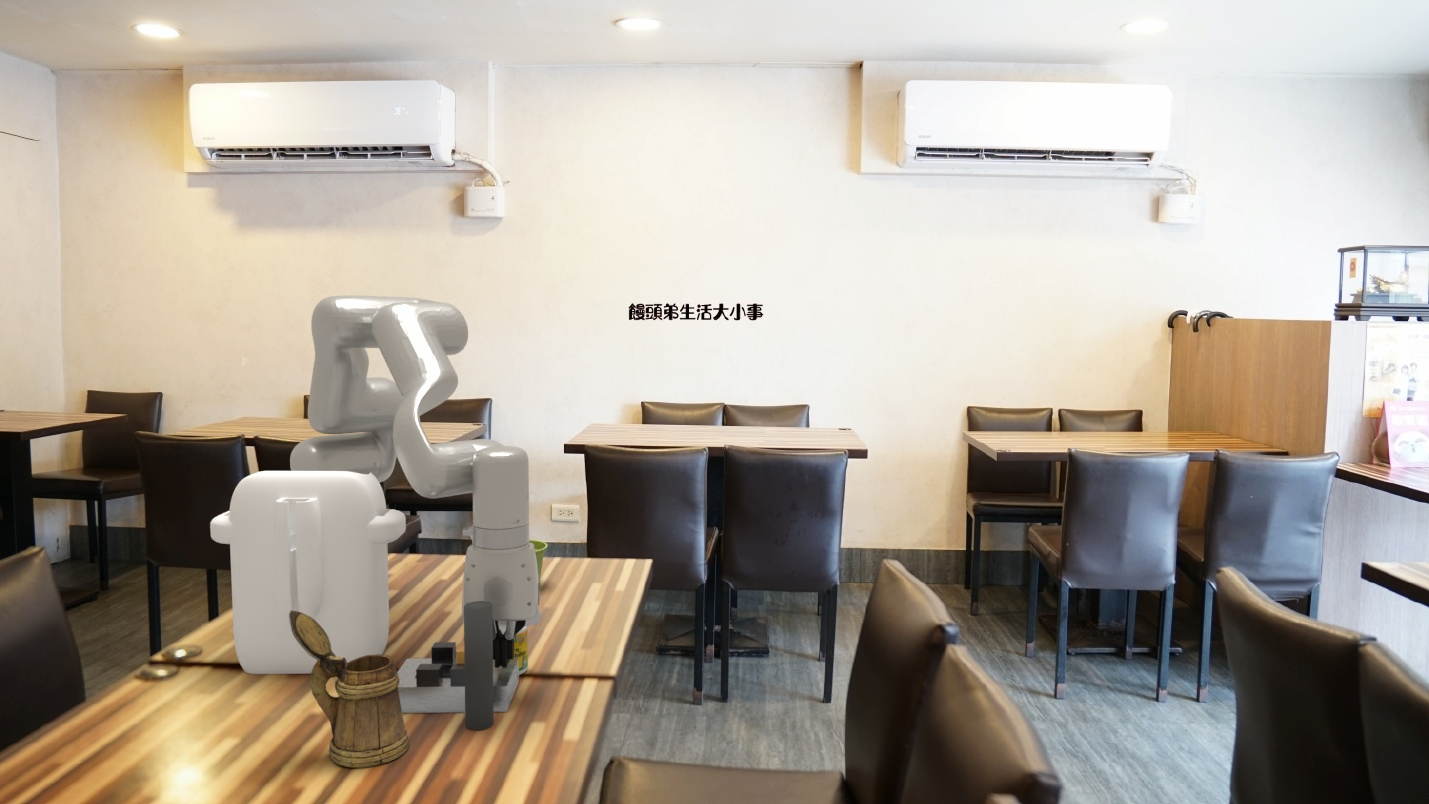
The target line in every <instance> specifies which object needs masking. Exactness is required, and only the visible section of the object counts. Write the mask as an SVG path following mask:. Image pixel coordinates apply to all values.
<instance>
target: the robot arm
mask: <svg viewBox="0 0 1429 804" xmlns="http://www.w3.org/2000/svg"><path fill="white" fill-rule="evenodd" d="M310 325H311V336H312V341H313V347H314V361H313V362H314V363H313V368H312V373H311V381H310V382H311V383H310V389H309V396H308V404H307V418H308V419H307V420H308V423H309V425H310V427H311V428H312V429H313V430H314V431H315V432H317V433H320V434H325V435H323V436H320V435H319V436H314V437H311V438H307V439H304V440H302V441H301V442H299V443H297V444H296V445H295V446H294V448H292V450H291V453H290V457H289V462H290V463H289V465H290V466H289V467H290V471H350V472H355V473H360V474H370V472H371V473H372V474H373V475H374V476H375V477H376V479H377V480H378V481H379V483H382V482H385V481H386V480H387V479H389V477H391V475H392V473H393V472H394V469H395V466H396V460H398V463H399V464H400V467H401V469H402V471H403V473H404V474H403V475H404V476H405V477H406V480H407V481H408V483H409V484H410V486H411V488H412V489H413V490H414V492H416V493H417V494H418V495H419V496H421V497H424V498H427V499H440V498H445V497H453V496H459V495H464V494H465V495H466V494H472V525H471V526H469V527H463V528H462V539H463V538H464V539H465V538H468V539H470V540H471V541H472V542H471V543H472V544H470V545H469V546H467V549H466V554H465V559H464V567H463V578H462V594H461V595H462V597H461V598H462V599H461V600H462V601H461V609H462V610H461V611H462V612H461V613H462V621H461V622H462V623H463V624H464V605H465V604H467V603H470V602H476V601H486V602H490V603H492V616H493V660H495V668H499V667H503V668H507V666H508V663H509V661H510V659H513V658H514V636H515V635H516V634H517V633H518V632H519V631H520V630H521V629H522V628H523V627H525V626H527V627H529V626H533V625H539V623H540V622H541V620H542V614H541V611H540V606H539V605H540V595H541V594H540V592H541V591H540V585H539V577H538V566H537V559H536V553H535V549H534V545H533V543H530V542H529V540H530V495H529V494H530V491H529V490H530V483H529V482H530V480H529V479H530V477H529V476H530V475H529V471H530V470H529V463H530V462H529V456H528V453H527V452H526V451H525V450H524V449H523V448H520V447H516V446H507V445H504V444H502V443H500V442H499V441H497V440H493V439H490V438H479V439H469V440H458V441H456V440H455V441H446V442H439V443H431V442H430V440H429V438H428V436H427V435H426V433H425V430H424V428H423V426H422V423H421V417H420V416H422V415H424V414H425V413H427V412H429V411H431V410H433V409H434V408H436V407H439V406H440V405H442V404H443V403H444V402H446V401H447V400H448V399H449V398H450V397H451V396H452V395H453V394H454V393H455V392H456V390H457V387H458V385H459V377H458V374H457V372H456V370H455V368H454V366H453V365H452V363H451V361H450V359H449V357H448V356H452V355H457V354H460V353H461V352H462V351H463V350H464V348H465V347H466V345H467V343H468V339H469V329H468V324H467V321H466V318H465V316H464V314H463V313H462V312H461V310H459V309H458V308H457V307H456V306H455V305H453V304H451V303H449V302H443V301H442V302H441V301H435V300H432V299H425V298H419V297H418V298H417V297H405V296H378V295H375V296H374V295H333V296H327V297H324V298H323V299H321V300H320V301H319V302H318V303H317V304H316V305H315V307H314V309H313V312H312V315H311V323H310ZM366 349H379V352H380V353H381V355H382V357H383V360H384V362H385V363H386V366H387V368H388V370H389V372H390V374H391V376H392V378H393V380H394V381H393V380H392V379H390V378H386V377H378V376H377V377H368V372H369V367H370V366H369V365H370V359H369V355H368V351H367V350H366ZM499 621H507V625H506V631H505V632H504V635H503V634H502V633H501V630H500V627H499Z"/></svg>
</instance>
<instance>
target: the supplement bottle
mask: <svg viewBox="0 0 1429 804" xmlns="http://www.w3.org/2000/svg"><path fill="white" fill-rule="evenodd" d="M506 625H507V621H499V627H500V630H501V633H502V634H503V635H504V632H505V631H506ZM528 655H529V654H528V626H525V627H523V628H522V629H521V630H520V631H519V632H518V633H517V634H516V635H515V636H514V658H519V676H520V675H522V674H524V673H525V672H527V670H528V667H529V666H528V664H529V663H528V661H529V660H528Z"/></svg>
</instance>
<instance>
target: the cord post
mask: <svg viewBox="0 0 1429 804" xmlns="http://www.w3.org/2000/svg"><path fill="white" fill-rule="evenodd" d="M463 644H464V664H465V712H464V713H465V715H464V717H465V718H464V719H465V720H464V722H465V724H464V726H465V729H468V730H471V731H482V730H486V729H489V728H491V727H492V726H494V724H495V723H494V719H495V718H494V717H495V716H494V713H495V712H494V710H493V616H492V603H490V602H486V601H476V602H470V603H467V604H465V605H464V623H463Z"/></svg>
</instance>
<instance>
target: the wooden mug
mask: <svg viewBox="0 0 1429 804" xmlns="http://www.w3.org/2000/svg"><path fill="white" fill-rule="evenodd" d="M289 619H290V625H291V630H292V633H293V636H294V637H295V639H296V640H297V642H298V643H299V644H300V645H301V647H302V648H303V649H304V650H305V651H306V652H307V653H308V654H309V655H310V656H311V657H313V658H315V659H317V662H316V664H315V665H314V667H313V669H312V672H311V673H310V681H309V685H310V690H311V695H313V697H314V700H315V701H316V703H317V704H318V707H320V709H321V710H322V711H323V712H324V714H325V716H326V718H327V719H328V721H329V724H330V728H331V732H332V737H331V739H330V743H329V748H328V752H329V757H330V758H331V760H332V761H333V762H334V763H335V764H336V765H338V766H340V767H345V768H353V769H354V768H355V769H364V768H371V767H375V766H380V765H383V764H387V763H388V762H391V761H393V760H396V759H398V758H400V757H401V756H402V755H404V754H405V753H406V752H407V750H408V749H409V747H410V739H409V736H408V730H407V729H406V728H405V726H406V725H405V721H404V716H403V715H404V714H403V713H402V709H401V703H400V697H399V691H398V685H399V682H400V681H399V676H398V670H397V668H396V667H395V660H394V658H393V656H391V655H387V654H382V655H380V654H377V655H366V656H362V657H359V658H357V659H354V660H352V661H350V662H348V663H347V661H346V659H345V658H343V657H336V655H335V654H334V653H333V652H332V650H331V643H330V641H329V638H328V636H327V634H326V632H325V631H324V630H323V628H322V627H321V626H320V625H319V624H318V623H317V622H316V621H315V620H314V619H313V618H311V617H310V616H308V615H306V614H304V613H301V612H297V611H292V610H291V611H290V613H289ZM333 678H337V680H336V681H335V684H334V689H335V692H336V693H337V695H338V696H337V697H336V696H333V695H330V694H329V692H328V690H327V688H326V687H327V686H326V685H327V684H328V682H329V680H331V679H333Z"/></svg>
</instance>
